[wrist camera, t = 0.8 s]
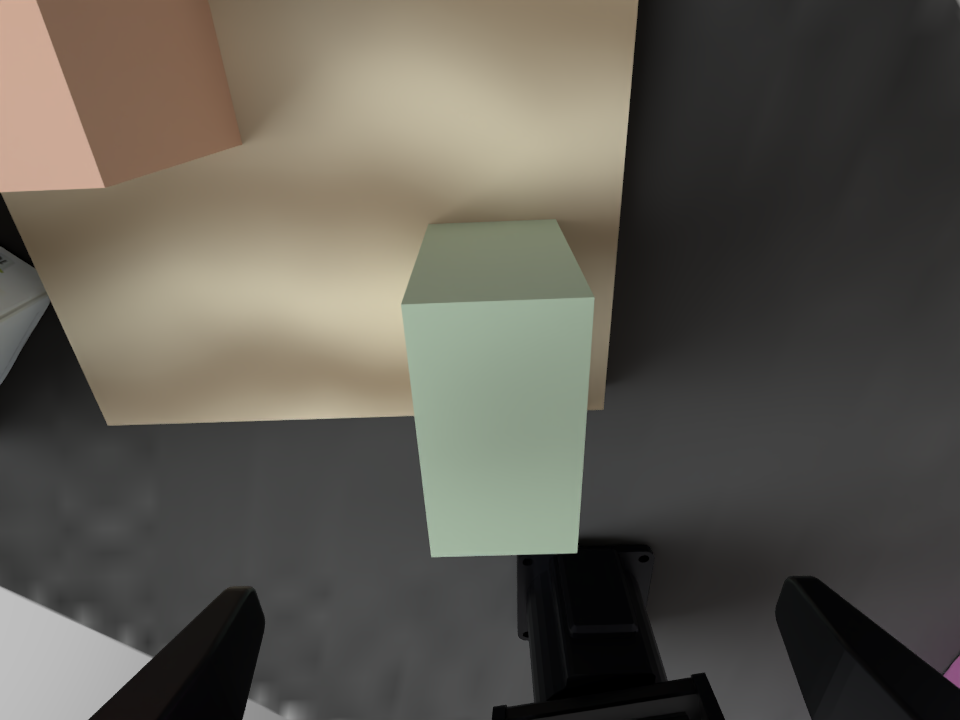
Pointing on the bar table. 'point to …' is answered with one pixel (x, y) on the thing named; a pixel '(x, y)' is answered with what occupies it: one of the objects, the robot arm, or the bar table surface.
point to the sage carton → (499, 386)
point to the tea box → (18, 307)
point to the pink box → (108, 91)
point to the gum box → (954, 672)
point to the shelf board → (338, 202)
